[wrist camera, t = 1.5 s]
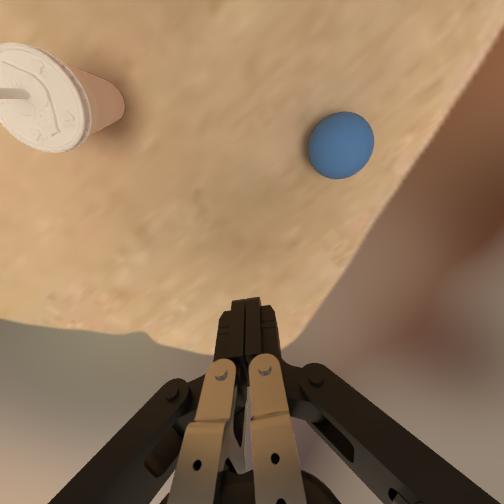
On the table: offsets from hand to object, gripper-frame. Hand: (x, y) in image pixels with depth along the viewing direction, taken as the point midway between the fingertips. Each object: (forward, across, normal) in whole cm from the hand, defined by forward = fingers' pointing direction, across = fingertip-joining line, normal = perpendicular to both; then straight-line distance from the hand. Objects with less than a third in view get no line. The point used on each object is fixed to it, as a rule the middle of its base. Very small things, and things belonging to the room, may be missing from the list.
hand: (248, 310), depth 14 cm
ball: (+16, -10, -4) cm, 19 cm away
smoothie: (+19, +12, -12) cm, 26 cm away
